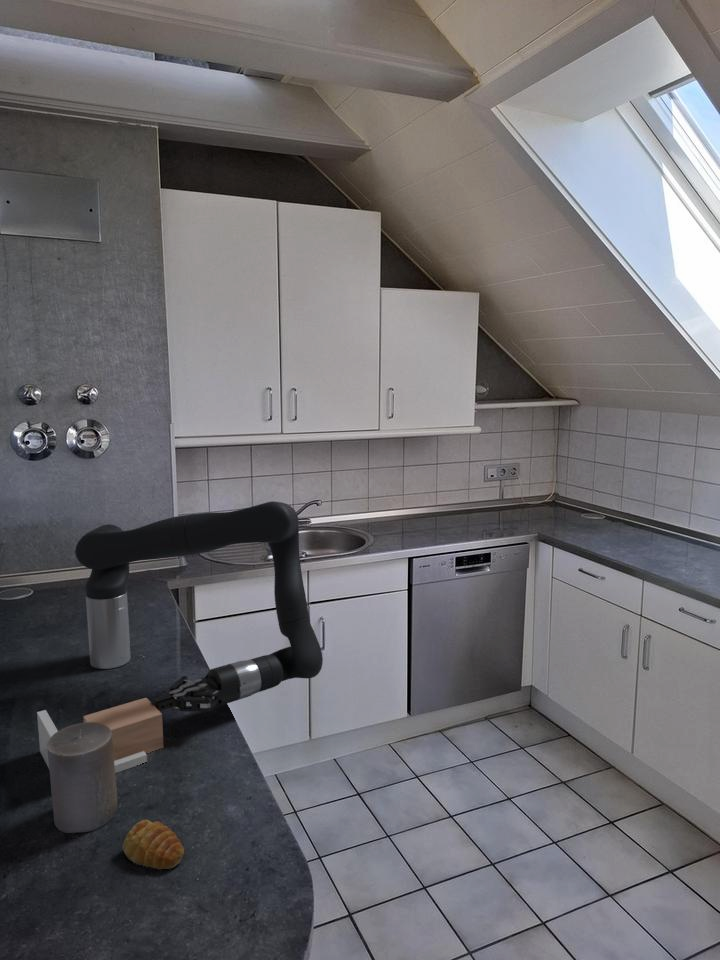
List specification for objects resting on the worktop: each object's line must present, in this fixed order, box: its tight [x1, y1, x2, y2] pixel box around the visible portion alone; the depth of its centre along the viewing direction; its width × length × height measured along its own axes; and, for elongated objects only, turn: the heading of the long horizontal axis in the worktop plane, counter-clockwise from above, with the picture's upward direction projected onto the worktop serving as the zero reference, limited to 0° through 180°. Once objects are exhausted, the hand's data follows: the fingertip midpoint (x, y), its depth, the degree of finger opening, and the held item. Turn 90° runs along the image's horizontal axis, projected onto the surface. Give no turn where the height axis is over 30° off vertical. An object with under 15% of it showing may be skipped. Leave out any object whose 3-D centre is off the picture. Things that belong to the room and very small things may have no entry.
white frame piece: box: [36, 709, 148, 774], centre depth 128 cm, size 15×15×8 cm
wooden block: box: [83, 697, 164, 761], centre depth 131 cm, size 8×12×7 cm, turn 128°
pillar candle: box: [47, 722, 119, 834], centre depth 112 cm, size 10×10×15 cm
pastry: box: [122, 819, 185, 869], centre depth 104 cm, size 9×7×4 cm
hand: (152, 706), depth 135 cm, fingers closed
